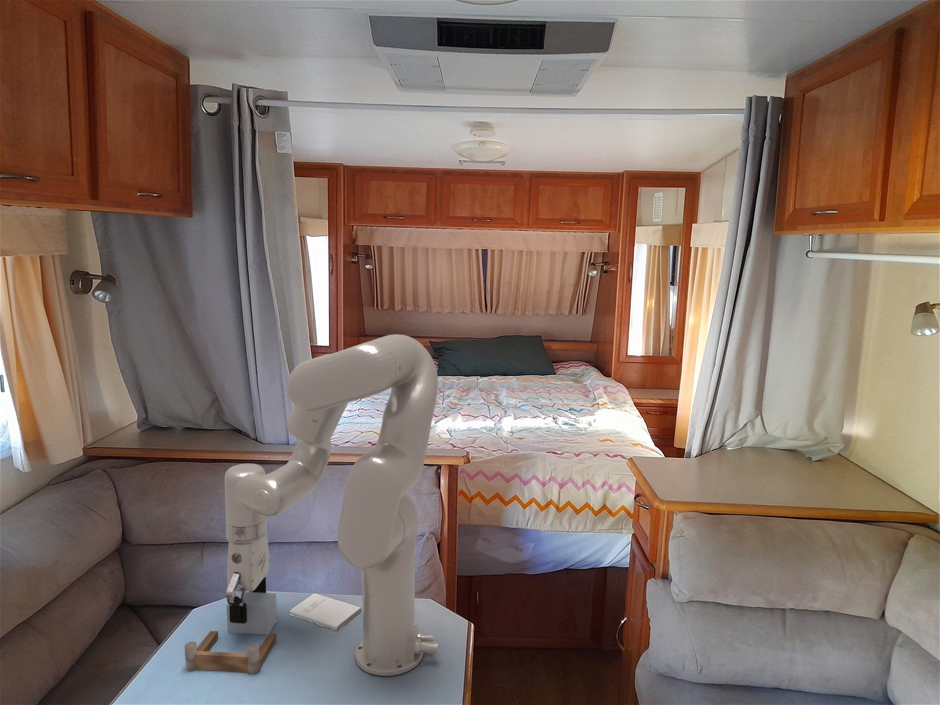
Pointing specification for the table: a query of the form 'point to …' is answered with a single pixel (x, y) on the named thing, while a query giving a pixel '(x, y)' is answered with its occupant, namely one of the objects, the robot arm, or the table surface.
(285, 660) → the table surface
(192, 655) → the frame
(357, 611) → the external hard drive
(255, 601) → the tall white block
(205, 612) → the table surface
